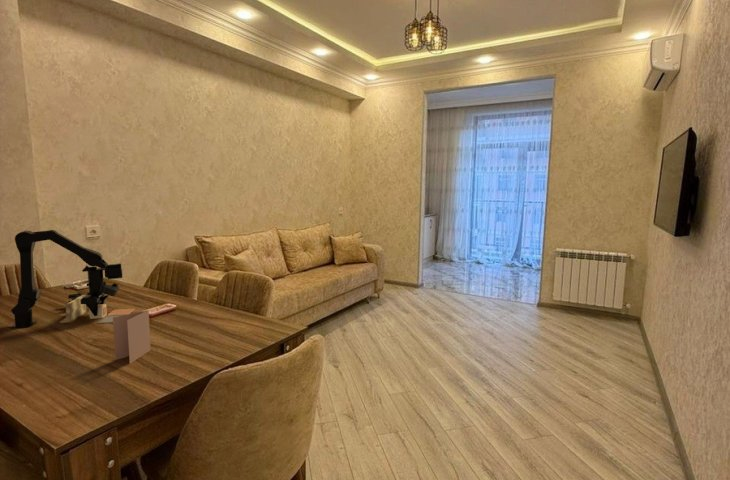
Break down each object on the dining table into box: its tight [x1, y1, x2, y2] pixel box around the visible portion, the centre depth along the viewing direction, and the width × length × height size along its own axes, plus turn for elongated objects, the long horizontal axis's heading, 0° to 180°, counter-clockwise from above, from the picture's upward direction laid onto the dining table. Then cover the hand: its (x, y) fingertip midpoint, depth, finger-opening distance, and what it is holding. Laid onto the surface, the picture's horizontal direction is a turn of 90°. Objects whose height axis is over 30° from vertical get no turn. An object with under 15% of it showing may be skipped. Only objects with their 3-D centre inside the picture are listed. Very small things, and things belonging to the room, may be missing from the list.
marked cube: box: [88, 303, 108, 320], centre depth 179 cm, size 5×5×5 cm
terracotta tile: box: [106, 308, 136, 316], centre depth 185 cm, size 9×9×1 cm
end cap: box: [67, 291, 88, 308], centre depth 192 cm, size 10×7×7 cm
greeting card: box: [112, 309, 152, 364], centre depth 137 cm, size 11×7×15 cm, turn 141°
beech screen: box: [59, 294, 88, 324], centre depth 178 cm, size 16×4×8 cm, turn 14°
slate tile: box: [97, 315, 123, 325], centre depth 176 cm, size 9×9×1 cm
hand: (98, 313), depth 179 cm, fingers closed on marked cube, 5 cm apart
